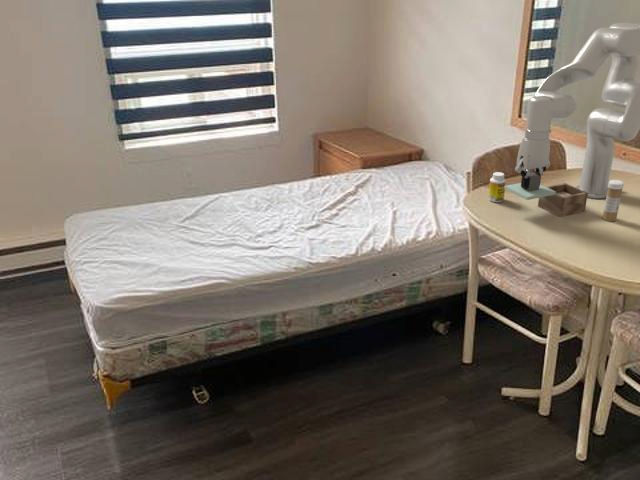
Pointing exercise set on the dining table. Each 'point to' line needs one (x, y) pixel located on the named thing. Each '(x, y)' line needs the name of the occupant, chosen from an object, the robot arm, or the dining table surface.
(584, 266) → the dining table surface
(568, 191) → the storage box
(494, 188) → the supplement bottle
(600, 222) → the dining table surface
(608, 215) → the sprinkles bottle
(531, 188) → the lid
